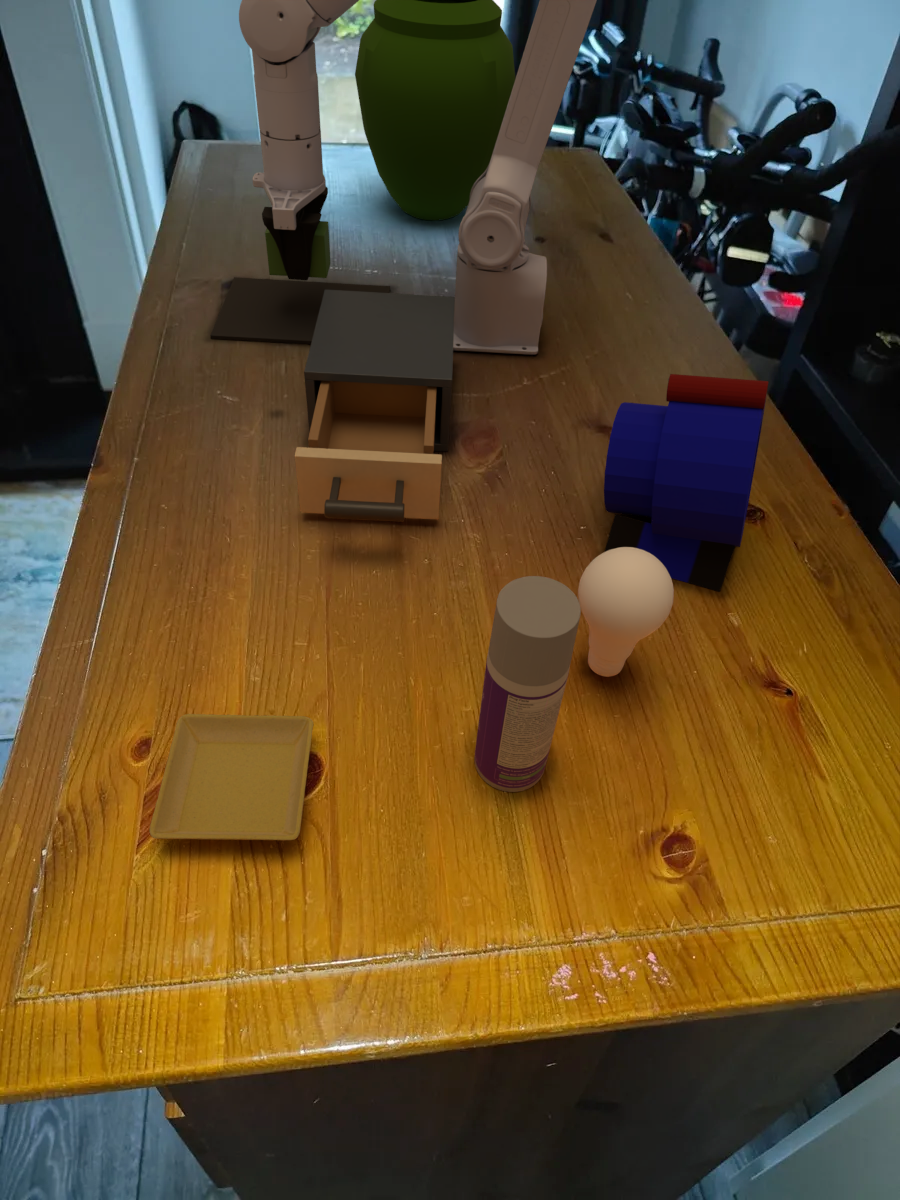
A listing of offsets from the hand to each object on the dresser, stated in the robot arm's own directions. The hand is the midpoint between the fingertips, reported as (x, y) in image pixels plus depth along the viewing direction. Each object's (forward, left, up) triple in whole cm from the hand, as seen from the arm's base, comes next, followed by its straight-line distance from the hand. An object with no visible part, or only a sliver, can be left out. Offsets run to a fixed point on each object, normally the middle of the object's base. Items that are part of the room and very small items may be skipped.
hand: (301, 269), depth 90 cm
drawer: (-10, +30, -4) cm, 31 cm away
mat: (0, 0, -5) cm, 5 cm away
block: (0, 0, 0) cm, 0 cm away
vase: (-13, -29, -5) cm, 33 cm away
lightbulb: (-28, +49, -5) cm, 56 cm away
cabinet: (-10, +17, -5) cm, 20 cm away
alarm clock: (-35, +33, -5) cm, 48 cm away
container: (-21, +57, -5) cm, 60 cm away
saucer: (-4, +60, -5) cm, 60 cm away
